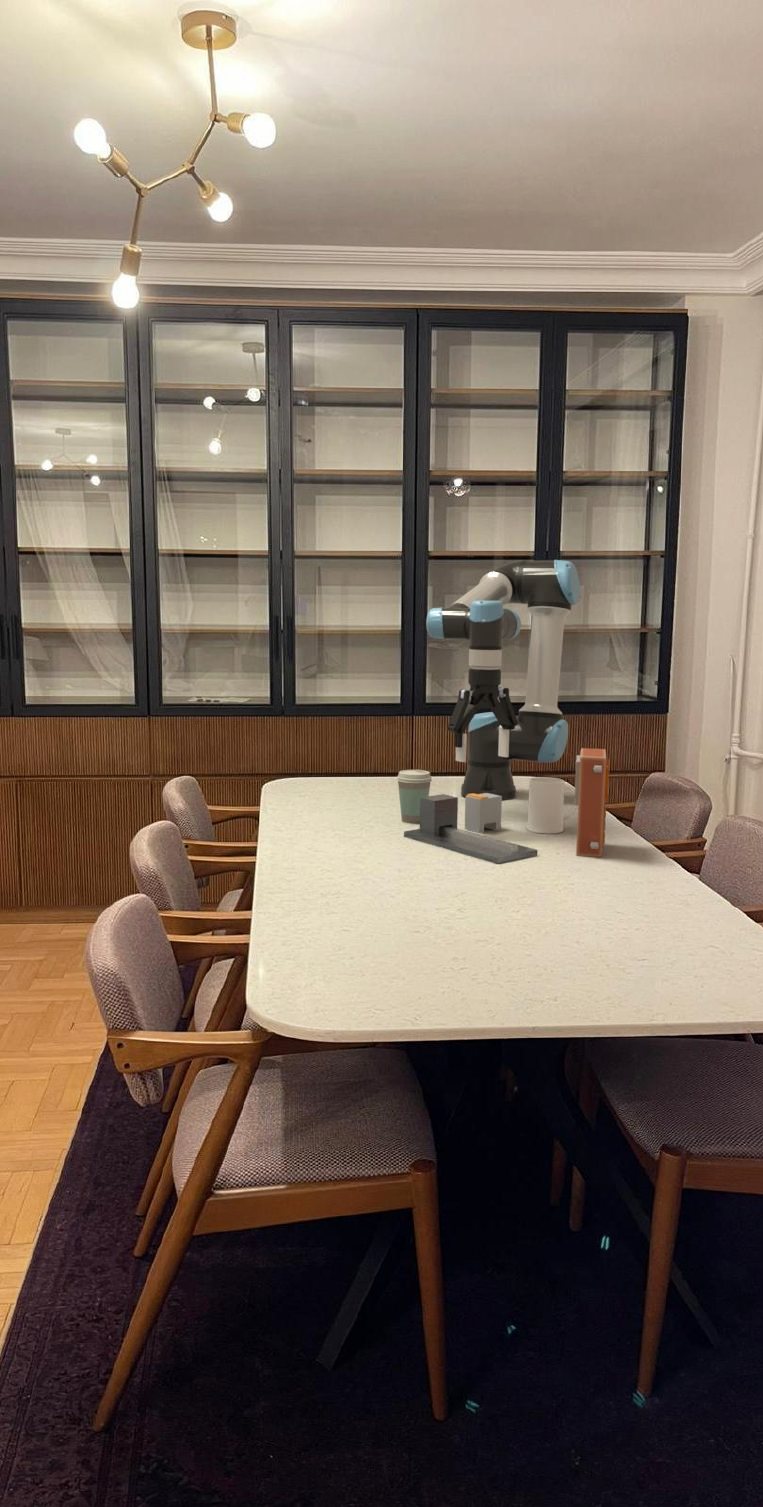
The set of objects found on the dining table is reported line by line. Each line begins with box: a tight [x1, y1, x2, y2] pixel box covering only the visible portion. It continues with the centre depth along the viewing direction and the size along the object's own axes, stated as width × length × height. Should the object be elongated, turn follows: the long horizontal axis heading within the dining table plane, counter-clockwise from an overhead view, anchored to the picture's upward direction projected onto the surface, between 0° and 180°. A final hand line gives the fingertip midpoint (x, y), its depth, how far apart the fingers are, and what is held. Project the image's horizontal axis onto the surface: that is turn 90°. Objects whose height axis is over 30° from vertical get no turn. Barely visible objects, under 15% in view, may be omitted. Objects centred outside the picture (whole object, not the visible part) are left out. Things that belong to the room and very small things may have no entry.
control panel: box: [573, 747, 610, 858], centre depth 225 cm, size 21×7×15 cm
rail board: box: [403, 793, 538, 865], centre depth 228 cm, size 30×12×9 cm, turn 38°
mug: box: [526, 776, 578, 835], centre depth 245 cm, size 12×8×12 cm
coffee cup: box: [396, 769, 433, 824], centre depth 253 cm, size 8×8×12 cm
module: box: [464, 793, 503, 834], centre depth 245 cm, size 5×7×8 cm
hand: (482, 759), depth 243 cm, fingers open, 13 cm apart
